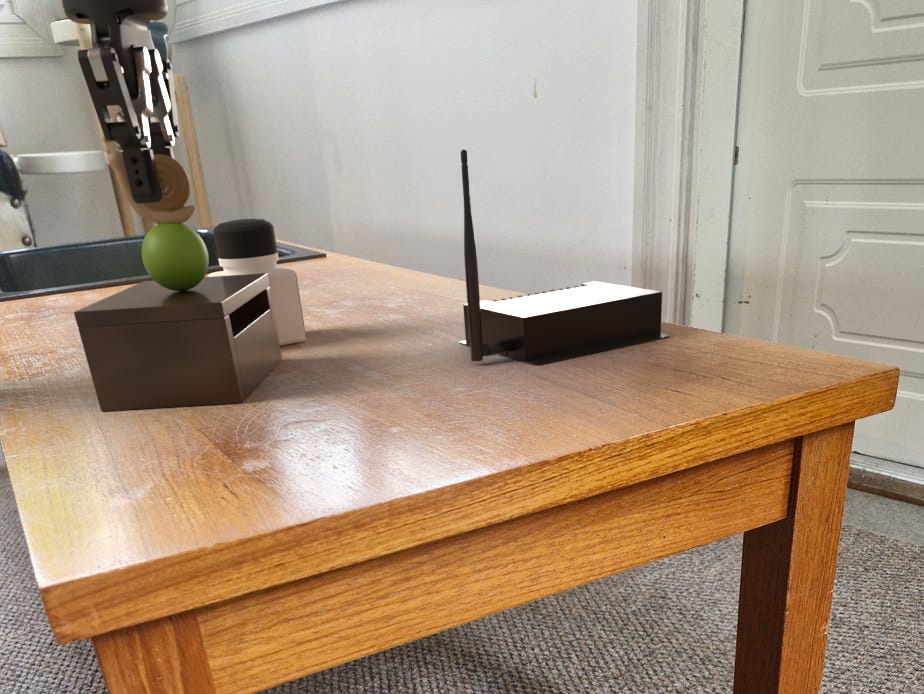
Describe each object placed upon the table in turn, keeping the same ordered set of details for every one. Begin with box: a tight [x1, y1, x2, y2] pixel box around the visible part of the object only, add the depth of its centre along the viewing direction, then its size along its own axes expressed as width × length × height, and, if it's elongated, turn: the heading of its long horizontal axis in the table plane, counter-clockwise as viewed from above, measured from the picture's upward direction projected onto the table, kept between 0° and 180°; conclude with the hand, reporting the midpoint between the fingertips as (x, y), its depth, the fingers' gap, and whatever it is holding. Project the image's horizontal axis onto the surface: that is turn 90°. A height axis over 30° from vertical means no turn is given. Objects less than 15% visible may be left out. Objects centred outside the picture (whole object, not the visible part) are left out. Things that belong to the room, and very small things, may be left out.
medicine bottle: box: [207, 218, 307, 347], centre depth 93 cm, size 7×7×12 cm
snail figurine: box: [102, 135, 210, 291], centre depth 75 cm, size 5×6×12 cm
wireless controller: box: [459, 148, 672, 366], centre depth 83 cm, size 20×14×17 cm
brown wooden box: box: [73, 273, 283, 412], centre depth 80 cm, size 12×16×8 cm
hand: (158, 198), depth 74 cm, fingers open, 4 cm apart
